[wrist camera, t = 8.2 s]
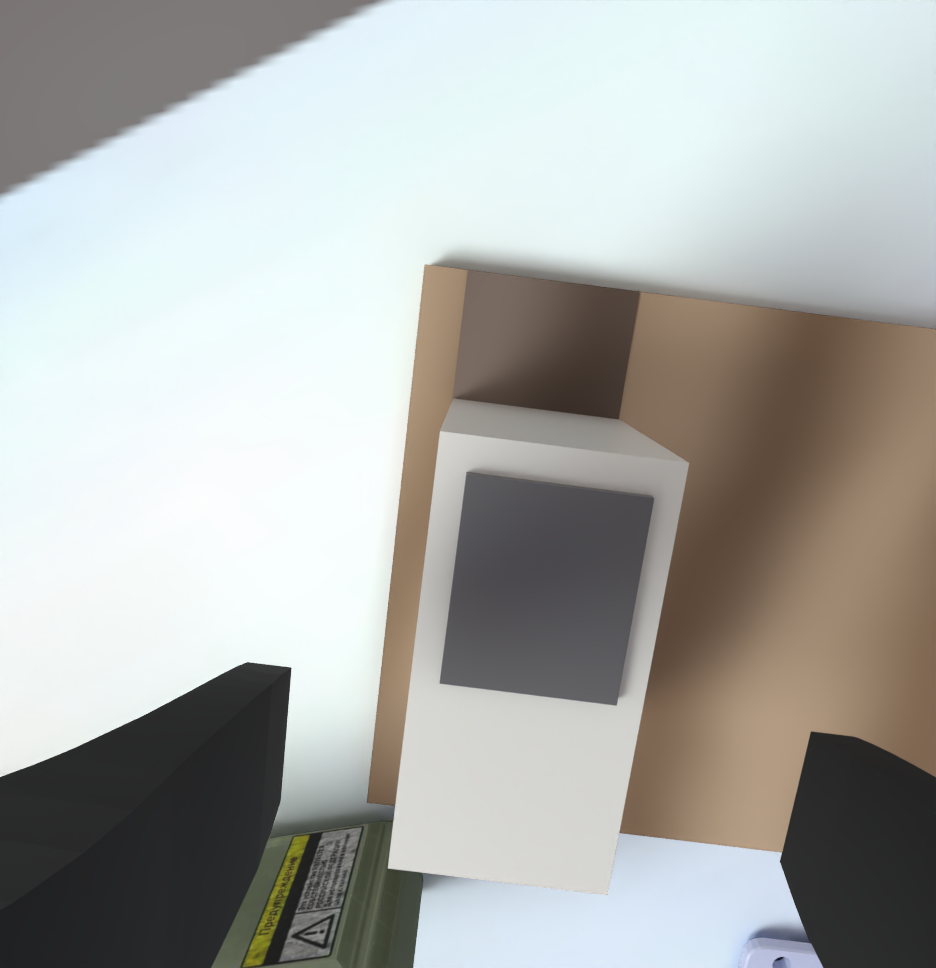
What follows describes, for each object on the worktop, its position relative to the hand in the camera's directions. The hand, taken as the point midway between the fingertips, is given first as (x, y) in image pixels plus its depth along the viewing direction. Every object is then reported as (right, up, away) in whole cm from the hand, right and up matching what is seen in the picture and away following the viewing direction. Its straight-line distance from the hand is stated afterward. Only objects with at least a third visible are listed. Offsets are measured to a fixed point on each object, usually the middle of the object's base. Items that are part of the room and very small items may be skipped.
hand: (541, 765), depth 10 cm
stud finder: (0, +2, +8) cm, 9 cm away
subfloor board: (+5, +1, +9) cm, 10 cm away
